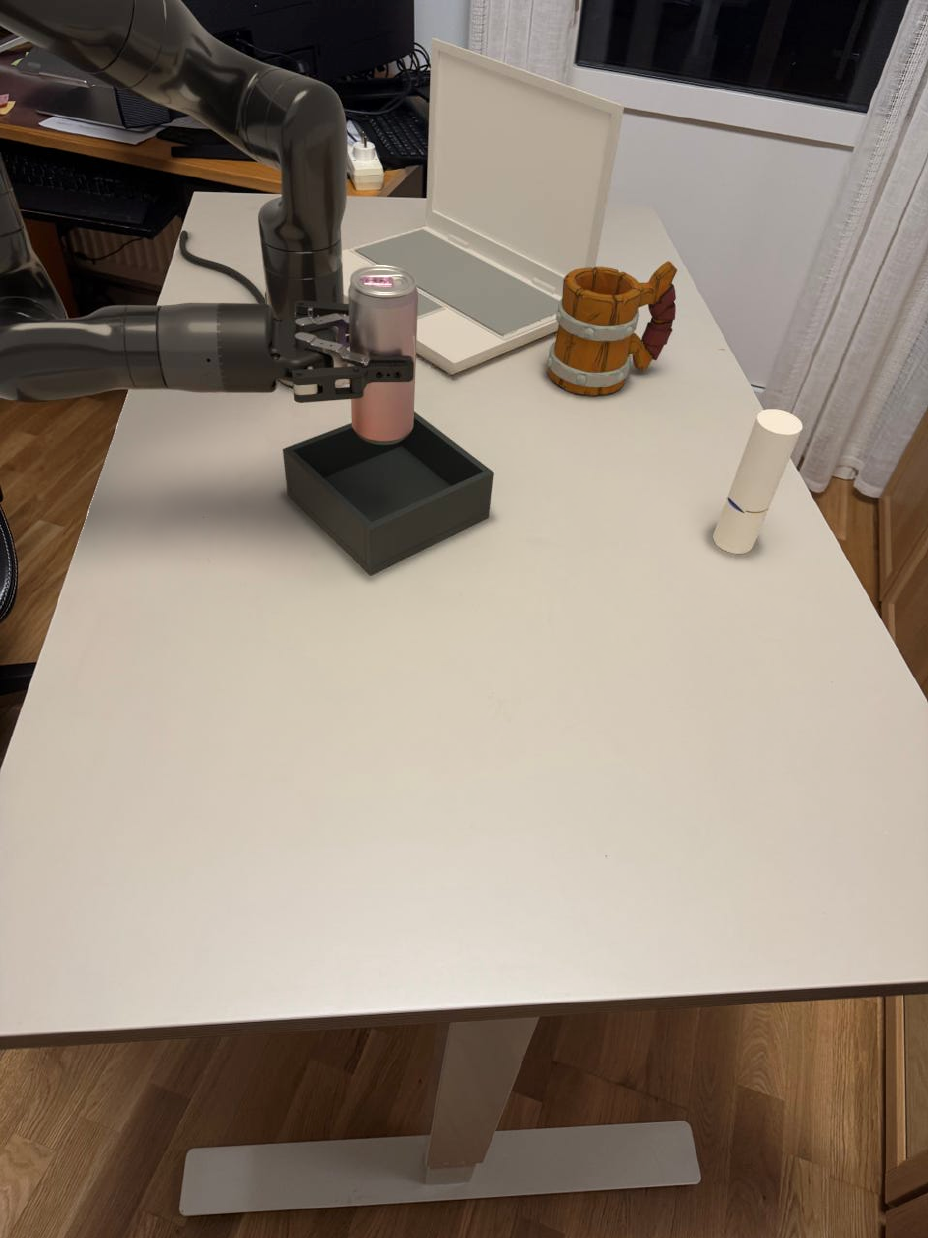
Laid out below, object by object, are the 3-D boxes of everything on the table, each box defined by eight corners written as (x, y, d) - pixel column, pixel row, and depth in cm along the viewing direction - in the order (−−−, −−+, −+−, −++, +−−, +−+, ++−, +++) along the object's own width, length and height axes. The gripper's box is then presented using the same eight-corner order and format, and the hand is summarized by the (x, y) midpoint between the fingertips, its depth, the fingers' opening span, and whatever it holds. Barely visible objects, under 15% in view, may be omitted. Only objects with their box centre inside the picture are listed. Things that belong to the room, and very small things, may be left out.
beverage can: (351, 411, 84) (348, 262, 73) (411, 413, 84) (417, 264, 74) (351, 447, 80) (347, 294, 69) (414, 448, 80) (420, 296, 69)
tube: (754, 533, 92) (803, 415, 81) (750, 558, 89) (801, 438, 78) (715, 523, 93) (758, 405, 82) (710, 547, 90) (754, 427, 79)
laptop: (297, 281, 126) (279, 60, 105) (430, 240, 139) (437, 37, 119) (453, 381, 109) (468, 141, 89) (587, 324, 123) (627, 104, 102)
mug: (534, 357, 115) (549, 246, 104) (646, 351, 118) (672, 243, 107) (556, 400, 108) (575, 286, 97) (675, 393, 111) (706, 281, 100)
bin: (287, 494, 91) (282, 448, 87) (402, 447, 99) (403, 402, 94) (370, 575, 83) (369, 529, 79) (489, 517, 91) (494, 472, 86)
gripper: (206, 350, 66) (419, 352, 69) (220, 269, 76) (405, 273, 78) (219, 431, 72) (415, 430, 74) (230, 346, 81) (403, 347, 84)
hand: (409, 349), depth 76 cm, fingers closed on beverage can, 6 cm apart
